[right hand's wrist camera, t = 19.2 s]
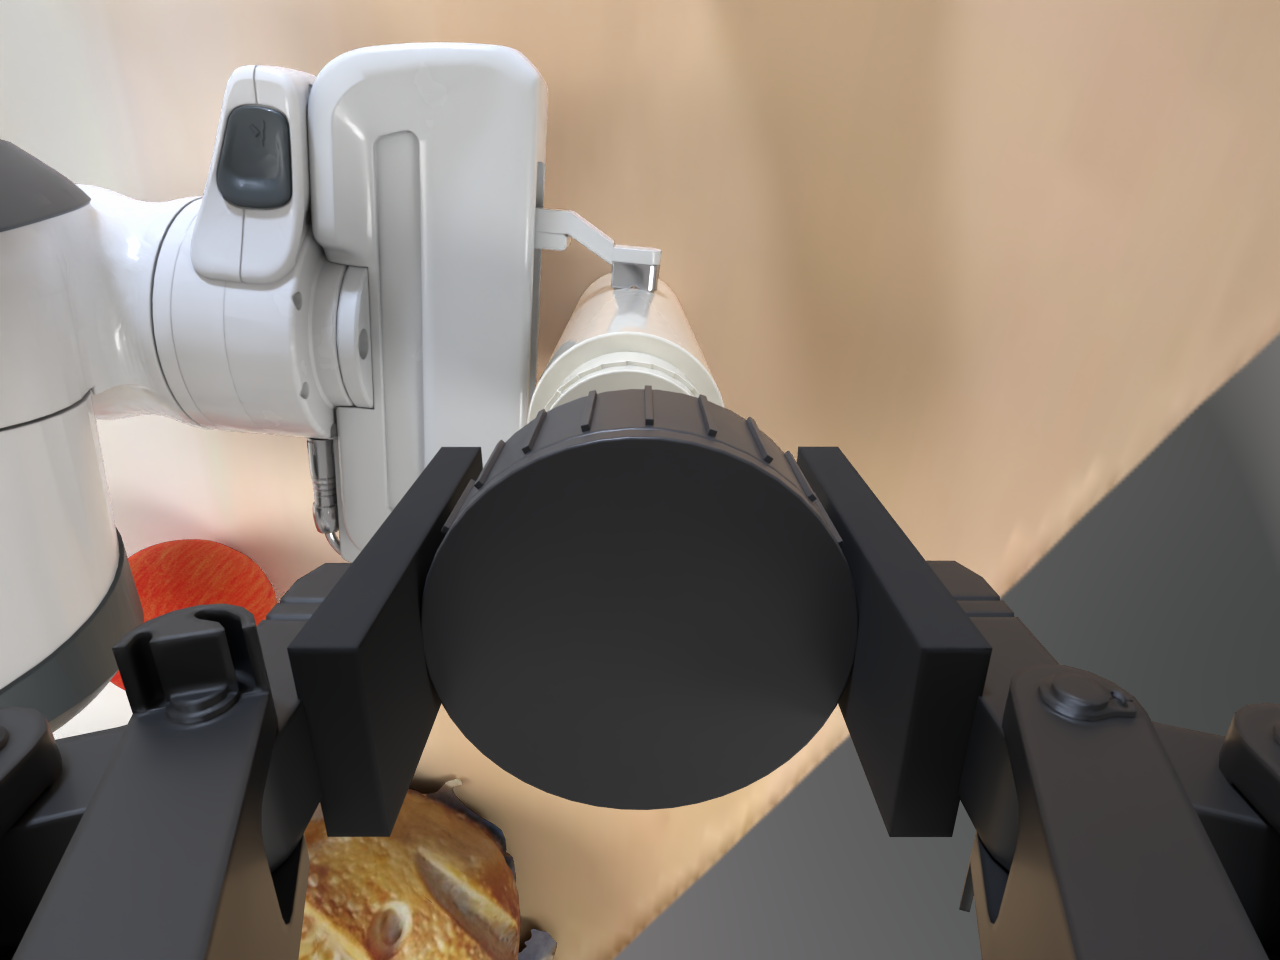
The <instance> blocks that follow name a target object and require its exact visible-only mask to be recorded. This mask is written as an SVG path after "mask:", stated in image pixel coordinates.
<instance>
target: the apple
mask: <svg viewBox="0 0 1280 960" xmlns="http://www.w3.org/2000/svg"><path fill="white" fill-rule="evenodd" d="M128 561H129V565H130V568H131V572H132V575H133V578H134V582H135V585H136V588H137V591H138V595H139V598H140V601H141V605H142V608H143V612H144V623H145V622H146V621H148V620H151V619H153V618H156V617H159V616H161V615H164V614H166V613H169V612H172V611H175V610H179V609H184V608H188V607H193V606H197V605H207V604H230V605H235V606H241V607H244V608H245V609H246V610H248V611H249V612H251V613H252V614H253V615H254V618H255V622H256V627H257V625H258V624H259V623H260V622H261V621H262V620H266V615H267V614H268V613H269V612H270V611H271V609H272V608H273V607H274V606H275V605H276V604H277V601H276V596H275V592H274V590H273V587H272V585H271V583H270V582H269V580H268V578H267V577H266V575H265V574H264V572H263V571H262V570H261V569H260V567H259V566H258V565H257V564H256V563H255V562H254V561H253V560H252V559H250V558H249V557H247V556H246V555H244V554H242V553H240V552H238V551H236V550H234V549H232V548H230V547H228V546H225V545H223V544H220V543H217V542H213V541H208V540H199V539H187V540H175V541H169V542H164V543H160V544H156V545H153V546H150V547H148V548H145V549H143V550H141V551H139V552H137V553H135V554H134V555H132V556H131V557H129V558H128ZM110 682H112V683H113V684H115V685H116V686H118V687H120V688H122V689H123V690H125V688H124V685H123V681H122V678H121V675H120V672H119V671H118V672H117V673H116V675H115V676H114V677H113V678H112V679H111V680H110Z"/></svg>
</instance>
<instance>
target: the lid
mask: <svg viewBox="0 0 1280 960" xmlns="http://www.w3.org/2000/svg"><path fill="white" fill-rule="evenodd" d="M441 532H443V533H445V534H446V536H445V537H444V539H443V541H442V543H441V544H440V546H439V548H438V550H437V552H436V554H435V556H434V559H433V562H432V564H431V567H430V569H429V572H428V574H427V577H426V582H425V587H424V591H423V596H422V601H421V618H420V622H421V633H422V640H423V648H424V655H425V662H426V666H427V670H428V674H429V677H430V679H431V681H432V684H433V686H434V689H435V691H436V693H437V696H438V698H439V700H440V701H441V703H442V705H443V706H444V708H445V710H446V711H447V713H448V715H449V716H450V718H451V719H452V721H453V722H454V723H455V724H456V726H457V727H458V728H459V729H460V731H461V732H462V733H463V734H464V736H465V737H466V738H467V739H468V740H469V741H470V742H471V743H472V744H473V745H474V746H475V747H476V748H477V749H478V750H479V751H480V752H481V753H482V754H484V755H485V756H486V757H487V758H489V759H490V760H491V761H493V762H494V763H495V764H497V765H498V766H499V767H501V768H502V769H503V770H505V771H507V772H508V773H510V774H512V775H513V776H515V777H517V778H518V779H520V780H522V781H523V782H525V783H527V784H530V785H532V786H534V787H536V788H538V789H540V790H543V791H545V792H547V793H550V794H553V795H556V796H559V797H562V798H565V799H568V800H571V801H575V802H579V803H584V804H588V805H593V806H598V807H607V808H615V809H631V810H651V809H664V808H674V807H680V806H685V805H691V804H697V803H701V802H704V801H707V800H711V799H714V798H718V797H721V796H724V795H727V794H729V793H731V792H734V791H736V790H739V789H741V788H744V787H746V786H748V785H750V784H752V783H754V782H755V781H757V780H759V779H761V778H763V777H765V776H767V775H768V774H770V773H771V772H773V771H774V770H776V769H777V768H778V767H780V766H781V765H783V764H784V763H786V762H787V761H788V760H790V759H791V758H792V757H793V756H794V755H795V754H796V753H798V752H799V751H800V750H801V749H802V748H803V747H804V746H805V745H807V743H808V742H809V741H810V740H811V739H812V738H813V737H814V736H815V734H816V733H817V732H818V731H819V730H820V729H821V728H822V727H823V725H824V724H825V722H826V721H827V719H828V718H829V716H830V715H831V713H832V712H833V710H834V709H835V707H836V706H837V704H838V702H839V700H840V698H841V696H842V694H843V692H844V689H845V687H846V685H847V683H848V680H849V677H850V674H851V670H852V667H853V664H854V659H855V651H856V644H857V637H858V627H859V609H858V602H857V595H856V589H855V585H854V581H853V578H852V575H851V572H850V569H849V565H848V562H847V560H846V558H845V556H844V554H843V552H842V550H841V548H842V547H845V545H844V543H843V540H842V539H841V537H840V535H839V533H838V532H837V530H836V528H835V527H834V525H833V523H832V521H831V520H830V518H829V516H828V514H827V513H826V511H825V509H824V507H823V506H822V504H821V502H820V501H819V499H818V497H817V495H816V494H815V492H813V490H812V489H811V487H810V485H809V483H808V482H807V480H806V478H805V476H804V475H803V473H802V471H801V469H800V468H799V466H798V464H797V462H796V461H795V459H794V457H793V455H792V454H791V453H790V452H789V451H787V452H786V453H784V452H783V451H782V450H781V449H780V448H779V447H778V446H777V445H776V444H775V443H774V442H773V440H772V439H770V438H769V437H768V436H767V435H766V434H764V433H763V432H762V431H761V430H759V428H758V426H757V424H756V422H755V420H754V419H752V418H751V417H749V418H748V419H747V420H745V419H744V418H742V417H740V416H739V415H737V414H736V413H734V412H732V411H730V410H728V409H726V408H723V407H721V406H719V405H717V404H714V403H712V402H710V401H708V400H707V397H706V396H704V395H701V394H700V395H699V398H697V397H693V396H690V395H687V394H683V393H676V392H670V391H663V390H652V386H649V385H645V388H644V389H627V390H617V391H607V392H602V393H598V394H597V392H596V390H593V391H589V394H588V396H585V397H581V398H578V399H576V400H573V401H570V402H568V403H565V404H562V405H560V406H557V407H555V408H553V409H552V410H550V411H548V412H546V411H545V409H542V410H540V411H539V412H538V414H537V416H536V418H535V419H534V420H532V421H531V422H529V423H528V424H527V425H525V426H524V427H522V428H521V429H520V430H518V431H517V432H516V433H515V434H513V435H512V436H511V437H510V438H509V439H508V440H507V441H506V442H504V441H503V440H500V441H499V442H498V443H497V445H496V447H495V448H494V450H493V452H492V454H491V455H490V457H489V459H488V461H487V463H486V464H485V466H484V468H483V470H482V472H481V473H480V475H479V477H478V479H477V480H476V481H474V480H472V479H471V480H470V482H469V483H468V485H467V487H466V489H465V490H464V492H463V494H462V495H461V497H460V499H459V501H458V502H457V504H456V506H455V507H454V509H453V511H452V513H451V514H450V516H449V518H448V519H447V521H446V523H445V524H444V526H443V528H442V530H441Z"/></svg>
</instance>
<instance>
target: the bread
mask: <svg viewBox="0 0 1280 960" xmlns="http://www.w3.org/2000/svg"><path fill="white" fill-rule="evenodd" d="M456 785H462V781H461V780H460V779H454V780H451V781H448V782H446V783H445V784H444V785H443V786H442V787H441V788H440V789H439V790H438V791H437V792H435V793H427V794H421V793H420V792H419V791H416V790H412V789H408V791H407V794H406V796H405V799H404V802H403V804H402V807H401V809H400V812H399V815H398V817H397V820H396V822H395V825H394V827H393V830H392V833H391V835H390V837H327V832H326V827H325V823H324V818H323V813H322V809H321V804H320V803H319V805H318V807H317V809H316V810H315V812H314V814H313V816H312V818H311V820H310V822H309V824H308V826H307V828H306V830H305V831H304V835H305V839H306V843H307V848H308V854H309V861H310V867H309V875H308V884H307V892H306V900H305V908H304V917H303V925H302V933H301V942H300V950H299V958H298V960H553V957H554V954H555V951H556V948H557V942H556V941H555V940H554V939H553V938H552V937H551V936H550V935H549V933H547V932H543V931H539V930H536V929H532V930H531V934H532V937H531V939H530V940H528V941H526V942H525V944H526V945H527V947H526V948H524V949H523V951H522V952H520V953H518V952H519V941H520V926H521V919H520V910H519V898H518V891H517V888H516V875H515V868H514V861H513V857H512V856H511V855H510V854H508V853H506V842H505V837H504V835H503V833H502V830H500V829H499V828H498V827H497V826H496V825H494V824H492V823H491V822H489V821H487V820H485V819H483V818H481V817H480V816H478V815H477V814H476V813H474V812H473V811H471V810H470V809H468V808H467V807H466V806H465V805H464V804H463V803H462V802H461V801H460V800H459V799H458V797H457V796H456V795H455V794H454V792H453V787H454V786H456Z"/></svg>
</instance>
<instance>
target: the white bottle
mask: <svg viewBox="0 0 1280 960" xmlns="http://www.w3.org/2000/svg"><path fill="white" fill-rule="evenodd" d="M611 280H612V272H611V273H609V274H606V275H604V276H602V277H600V278H599V279H597V280H596V281H594V282H593V283H592V284H591V285H590V286H589V287H588V288H587V289H586V290H585V292H584V293H583V294H582V296H581V298H580V299H579V301H578V303H577V305H576V307H575V309H574V311H573V313H572V315H571V317H570V319H569V321H568V323H567V326H566V328H565V330H564V332H563V334H562V336H561V338H560V340H559V342H558V344H557V346H556V348H555V350H554V352H553V354H552V356H551V358H550V360H549V362H548V364H547V366H546V368H545V370H544V372H543V374H542V376H541V378H540V380H539V382H538V384H537V386H536V389H535V391H534V393H533V395H532V399H531V402H530V406H529V411H528V418H527V424H528V423H529V422H531V421H532V420H534V419H535V418H536V416H537V414H538V412H539V411H540V410H542V409H545V411H546V412H548V411H550V410H552V409H553V408H555V407H557V406H560V405H562V404H565V403H568V402H570V401H573V400H576V399H578V398H581V397H585V396H588V394H589V391H593V390H596V392H597V394H598V393H602V392H607V391H617V390H627V389H644V388H645V385H649V386H652V390H663V391H670V392H676V393H683V394H687V395H690V396H693V397H697V398H699V395H700V394H701V395H704V396H706V397H707V400H708V401H710V402H712V403H714V404H717V405H719V406H721V407H723V408H725V406H724V402H723V399H722V396H721V393H720V391H719V389H718V386H717V384H716V382H715V380H714V378H713V375H712V373H711V371H710V369H709V367H708V364H707V362H706V360H705V358H704V355H703V353H702V351H701V349H700V347H699V344H698V342H697V340H696V338H695V336H694V333H693V331H692V329H691V327H690V324H689V322H688V320H687V318H686V316H685V313H684V311H683V309H682V307H681V305H680V302H679V300H678V298H677V297H676V295H675V294H674V292H673V291H672V290H671V289H670V287H669V286H668V285H666V284H665V283H664V282H663V281H662V280H660V279H659V278H658V286H657V291H645V290H640V289H638V288H637V287H636V286H635V285H634V286H633V287H631V288H625V289H622V288H612V287H611Z"/></svg>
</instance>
